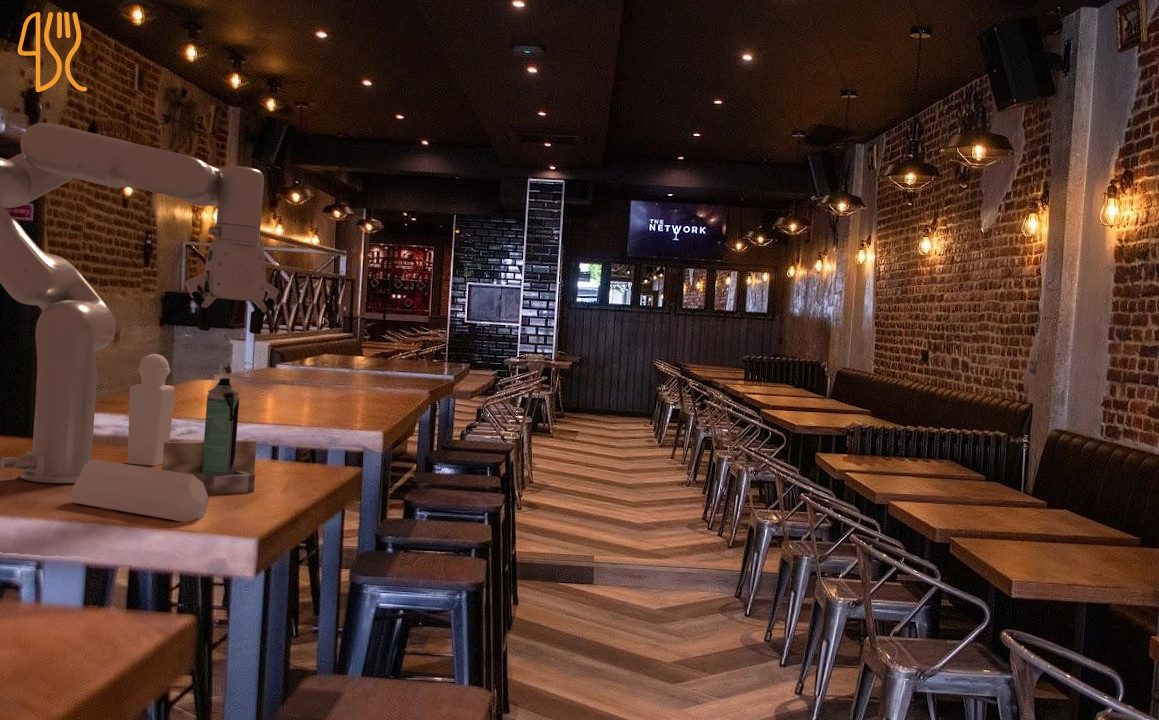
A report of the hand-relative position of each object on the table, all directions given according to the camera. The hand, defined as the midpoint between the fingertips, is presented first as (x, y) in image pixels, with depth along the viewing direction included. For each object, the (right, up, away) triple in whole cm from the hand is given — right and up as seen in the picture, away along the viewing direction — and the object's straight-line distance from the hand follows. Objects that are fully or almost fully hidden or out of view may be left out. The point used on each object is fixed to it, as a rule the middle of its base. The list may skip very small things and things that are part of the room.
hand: (230, 331), depth 187 cm
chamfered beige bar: (-7, -29, -23) cm, 38 cm away
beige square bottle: (-24, -26, +22) cm, 42 cm away
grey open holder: (-2, -28, +1) cm, 28 cm away
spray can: (-3, -28, +1) cm, 29 cm away
